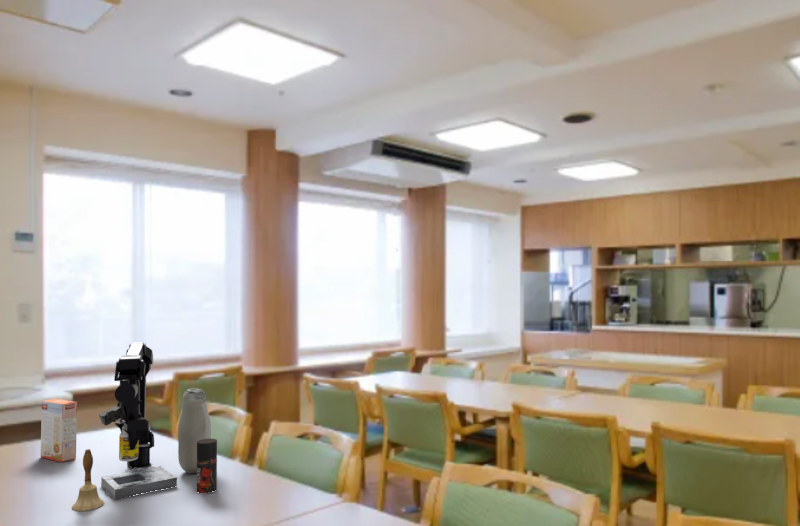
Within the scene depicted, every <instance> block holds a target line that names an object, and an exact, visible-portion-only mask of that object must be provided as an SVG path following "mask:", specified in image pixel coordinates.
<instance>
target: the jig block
mask: <svg viewBox="0 0 800 526" xmlns="http://www.w3.org/2000/svg"><path fill="white" fill-rule="evenodd" d="M100 480H101V484H100V485H101V488H102V489H103V490H104V491H105V492H106V491H107V492H106V494H108V493H109V494H110V495H111V496H110V495H109V494H108V495H109V496H110V497H111V498H112V499H113V500H115V501H117V500H116V499H118V500H122V499H121V498H123V499H126V498H125V497H127V498H130V497H129V496H132V497H134V496H133V495H136V494H141V493H146V492H150V491H155V490H161V489H166V488H170V489H172V488H171V487H175V486H177V487H178V481H177V480H178V478H177V476H176V475H174V474H173V473H171V472H170V471H168V470H167V469H166V468H164V467H162V465H158V466H154V467H148V468H147V467H146V468H142V469H136V470H131V471H126V472H121V473H115V474H110V475H104V476H101V479H100ZM175 488H176V487H175ZM166 490H167V489H166ZM161 491H162V490H161ZM146 494H147V493H146Z"/></svg>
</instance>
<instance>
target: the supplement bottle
mask: <svg viewBox="0 0 800 526" xmlns="http://www.w3.org/2000/svg"><path fill="white" fill-rule="evenodd" d="M123 429H124V426H123V427H122V433H121V432H120V433H119V435H118V436H119V437H118V438H119V440H118V441H119V442H118V449H119V450H118V460H119V461H120V462H127V461H133V460H136V459H137V458H138V453H139V440H138V442H137V444H136V446H135V448H134V450H130V447H129V441H128V434H127V433H126V432H125V431H124V430H123Z"/></svg>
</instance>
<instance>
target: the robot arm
mask: <svg viewBox="0 0 800 526" xmlns="http://www.w3.org/2000/svg"><path fill="white" fill-rule="evenodd" d="M153 364H154V354H153V350H152V349H151V348H150V347H148V346H147V344H146V342H145V343H144V342H132V343H129V346H128V349H126V353H125V355H121V356H119V358H118V360H116V363H115V372H114V382H119V385H118V386H117V387H116V388H115V391H114V398H115V399H116V406H114V407H110V408H109V409H107V410H104V411H102V412H100V413H98V417H99V419H100V421H101V425H104V426H109V425H111V423H114V424H113V425H115V427H117V428H118V429H119V430H120V433H122V427H123V426H124V429H123V430H124V431H125V432H126V433H127V434H128V441H129V447H130V450H134V448H135V446H136V444H137V442H138V440H139V453H138V458H137V459H136V460H133V461H126V466H127V467H129V468H130V469H133V468H134V469H138V468H139V467H140V468H145V467H150V466H152V462H150V461H151V459H150V458H151V457H150V456H151V449H152V448H154V447H155V434H154V433H153V430H151V424H150V421H149V420H147V418H146V417H147V412H146V409H147V376H148V374H149V373H150V371H151V368H152V365H153ZM149 465H150V466H149ZM144 466H145V467H144ZM134 469H133V470H134Z"/></svg>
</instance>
